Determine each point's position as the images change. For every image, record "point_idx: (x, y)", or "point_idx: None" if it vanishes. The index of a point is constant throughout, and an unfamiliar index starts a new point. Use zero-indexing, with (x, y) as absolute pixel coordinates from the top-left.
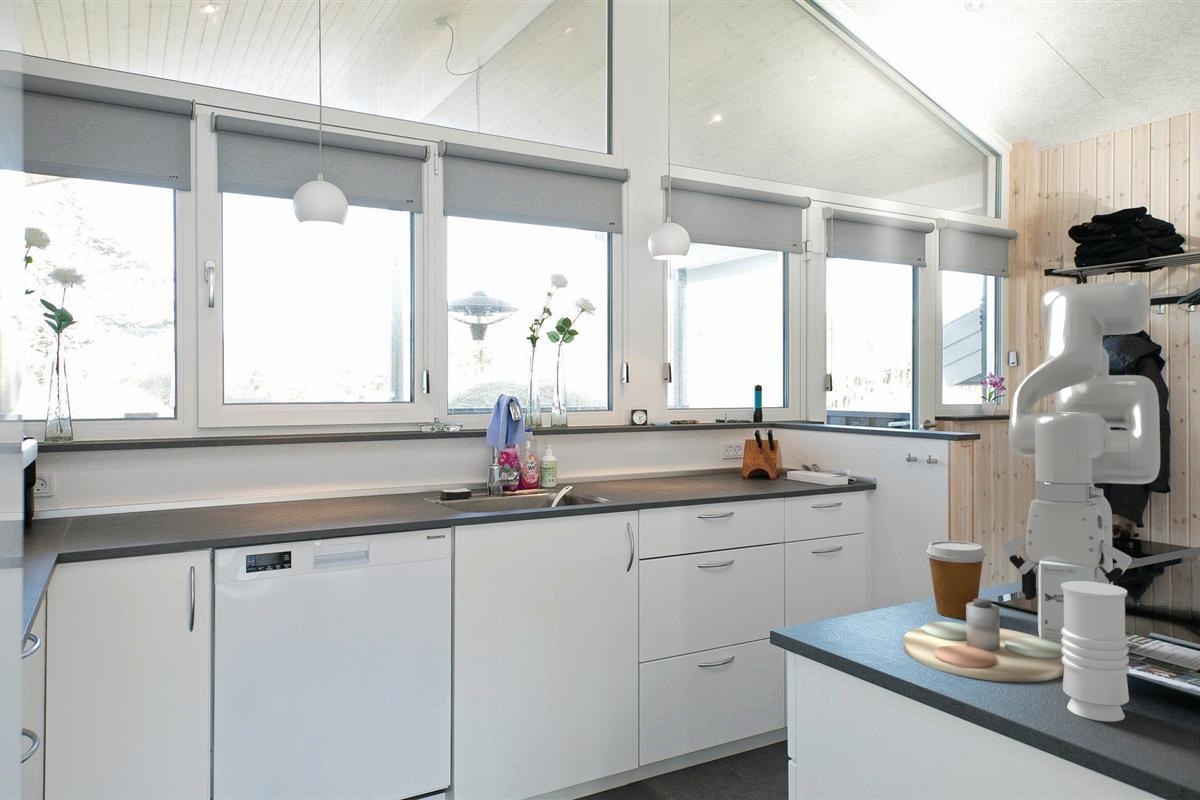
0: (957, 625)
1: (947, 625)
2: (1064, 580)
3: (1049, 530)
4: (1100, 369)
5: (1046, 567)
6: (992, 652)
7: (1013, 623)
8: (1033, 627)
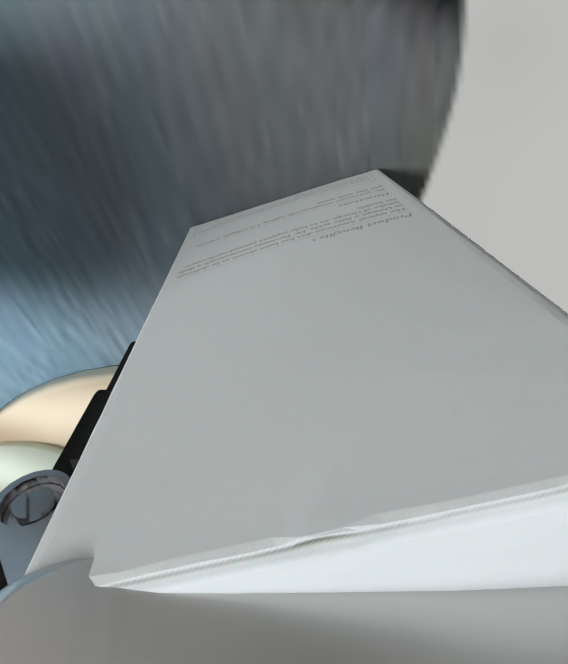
0: (20, 467)
1: (2, 482)
2: None
3: None
4: None
5: None
6: None
7: (52, 161)
8: (147, 170)
